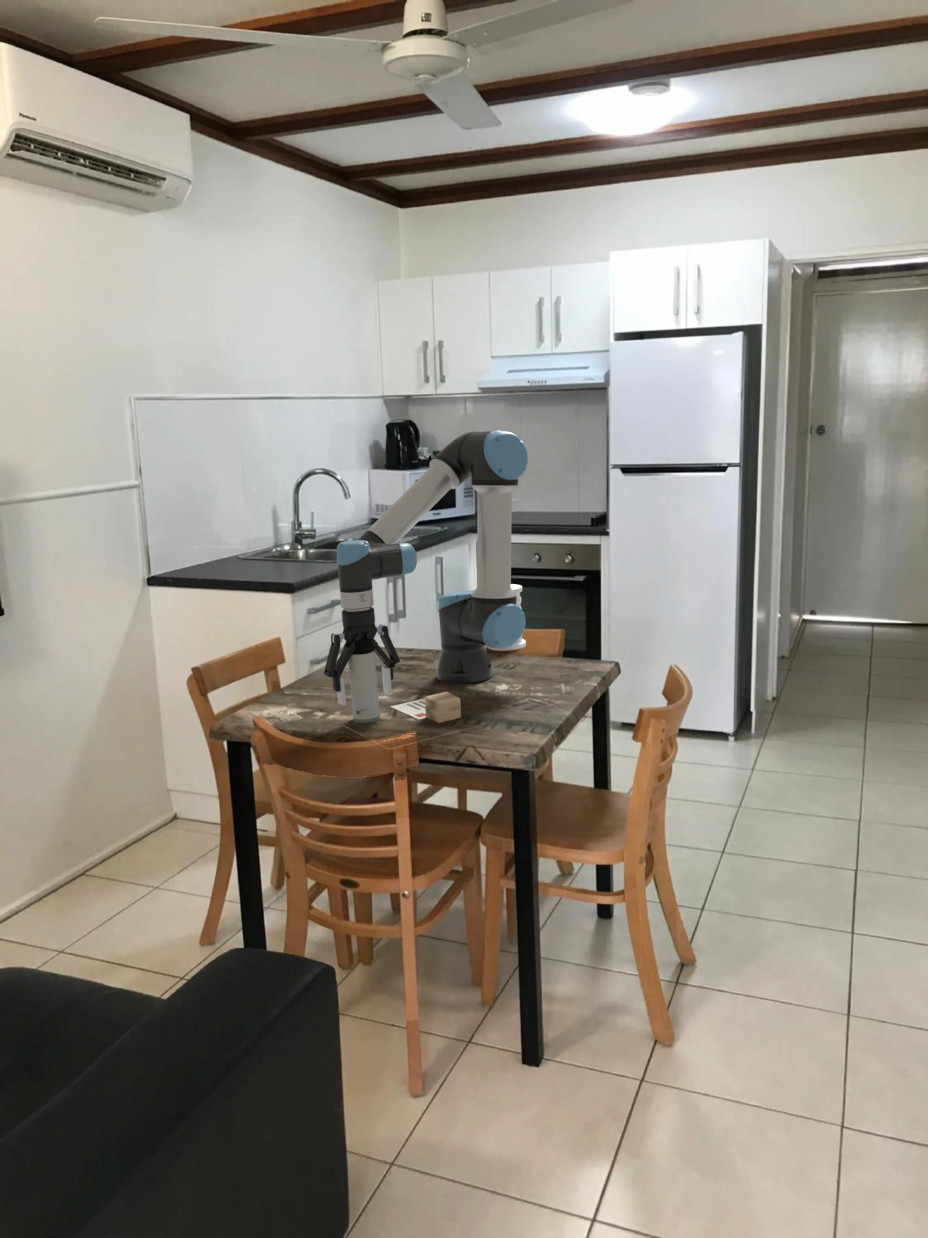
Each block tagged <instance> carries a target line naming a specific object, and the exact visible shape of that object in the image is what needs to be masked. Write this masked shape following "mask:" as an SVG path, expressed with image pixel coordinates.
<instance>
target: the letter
mask: <svg viewBox="0 0 928 1238" xmlns="http://www.w3.org/2000/svg"><path fill="white" fill-rule="evenodd" d="M390 708H392V709H395V710H396V711H399V712H402V713H404V714H406V715H408V716H411V717H412V718H415V719H417V720H423V719H426V718H427V717H426V711H425V697H424V698H421V699H416V700H412V701H408V702H404V703H399V704H395V705H391V706H390ZM427 719H428V718H427Z"/></svg>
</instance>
